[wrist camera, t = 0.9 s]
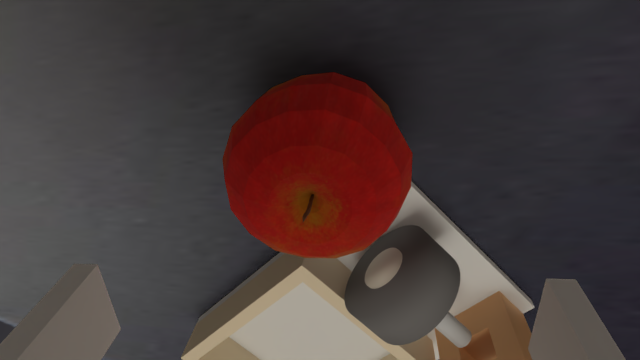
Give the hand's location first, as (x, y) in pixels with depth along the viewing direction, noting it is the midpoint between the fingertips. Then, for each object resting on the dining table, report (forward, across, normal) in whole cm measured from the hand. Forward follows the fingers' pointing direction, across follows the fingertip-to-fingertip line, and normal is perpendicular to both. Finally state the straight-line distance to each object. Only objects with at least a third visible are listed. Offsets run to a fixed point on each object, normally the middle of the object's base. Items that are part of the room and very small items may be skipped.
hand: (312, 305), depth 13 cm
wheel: (+16, +5, -11) cm, 20 cm away
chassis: (+17, +1, -17) cm, 24 cm away
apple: (+17, -1, 0) cm, 17 cm away
